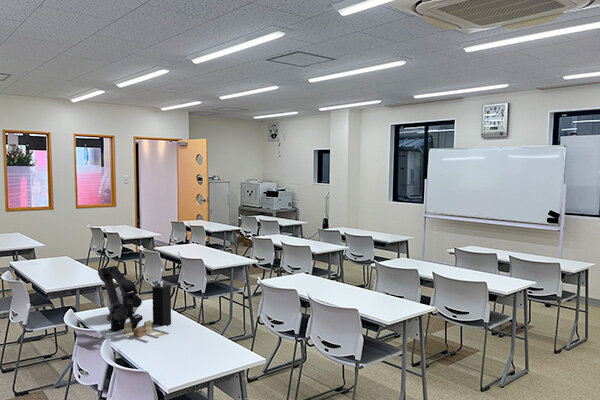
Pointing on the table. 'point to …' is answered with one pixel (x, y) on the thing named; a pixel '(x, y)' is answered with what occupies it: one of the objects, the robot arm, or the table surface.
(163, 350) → the table surface
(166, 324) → the black rectangular block
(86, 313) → the table surface
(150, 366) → the table surface
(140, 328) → the cube
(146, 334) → the lane board
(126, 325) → the tan piece
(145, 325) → the strip broken
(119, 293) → the moon model
